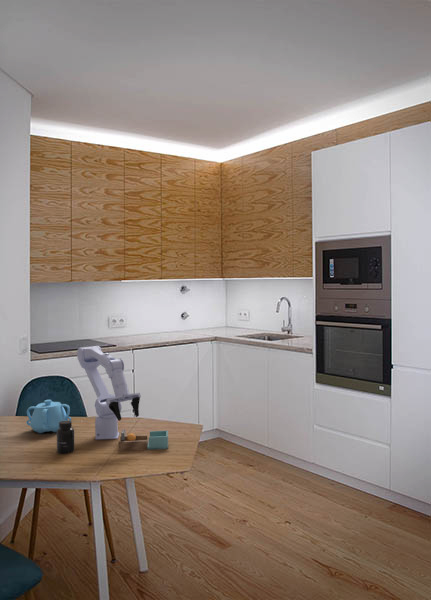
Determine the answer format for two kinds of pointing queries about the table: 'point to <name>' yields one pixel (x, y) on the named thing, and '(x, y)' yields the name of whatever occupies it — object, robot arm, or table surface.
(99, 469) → the table surface
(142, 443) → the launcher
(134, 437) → the ball
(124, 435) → the plunger
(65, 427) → the supplement bottle
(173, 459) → the table surface
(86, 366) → the robot arm
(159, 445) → the teal open box
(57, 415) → the decorative pot
